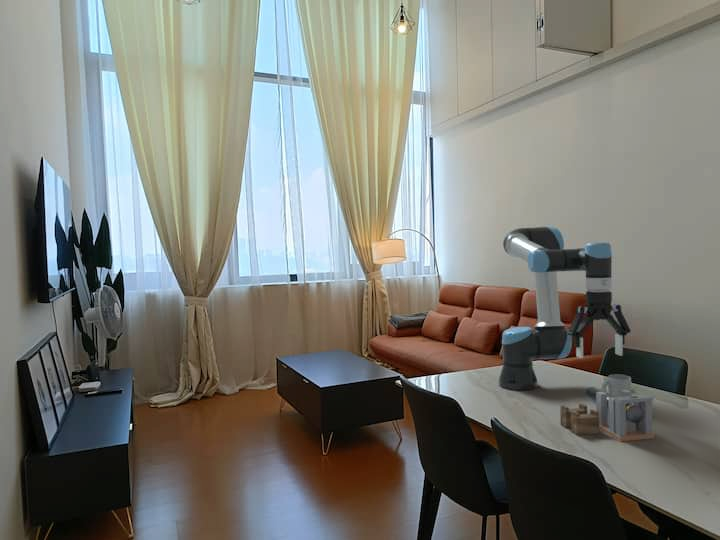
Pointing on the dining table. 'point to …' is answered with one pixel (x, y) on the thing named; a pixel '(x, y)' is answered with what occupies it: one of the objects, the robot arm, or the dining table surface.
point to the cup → (616, 384)
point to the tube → (632, 411)
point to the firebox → (624, 416)
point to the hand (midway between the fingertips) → (599, 356)
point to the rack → (580, 419)
